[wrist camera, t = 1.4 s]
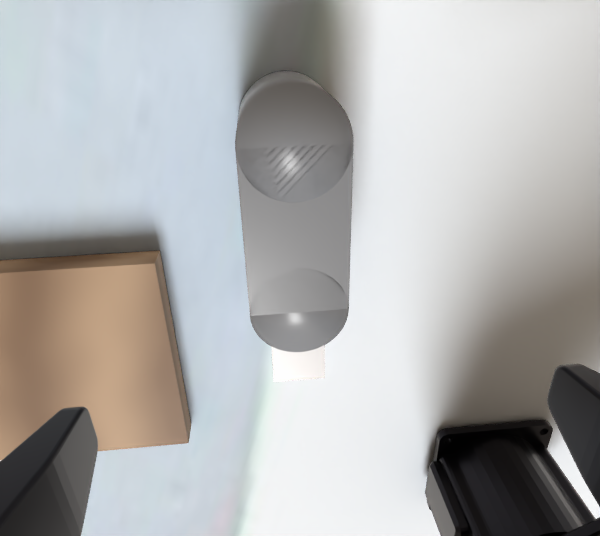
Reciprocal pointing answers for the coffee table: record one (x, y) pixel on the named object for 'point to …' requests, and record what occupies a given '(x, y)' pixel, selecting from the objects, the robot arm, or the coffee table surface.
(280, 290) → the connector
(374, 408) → the coffee table surface
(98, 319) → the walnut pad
